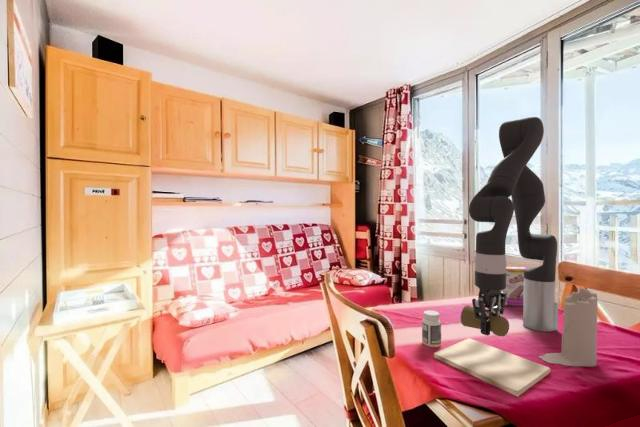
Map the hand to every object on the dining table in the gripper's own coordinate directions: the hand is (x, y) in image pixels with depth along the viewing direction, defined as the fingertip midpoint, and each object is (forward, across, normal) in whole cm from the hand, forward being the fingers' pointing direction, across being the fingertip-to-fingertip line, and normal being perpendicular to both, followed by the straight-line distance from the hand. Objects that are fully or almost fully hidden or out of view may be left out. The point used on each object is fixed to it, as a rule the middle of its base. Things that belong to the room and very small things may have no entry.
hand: (489, 332), depth 84 cm
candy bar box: (+9, +60, +20) cm, 64 cm away
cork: (-3, 0, +7) cm, 7 cm away
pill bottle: (+9, -2, +17) cm, 19 cm away
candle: (+9, +21, -11) cm, 25 cm away
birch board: (+9, 0, 0) cm, 9 cm away
